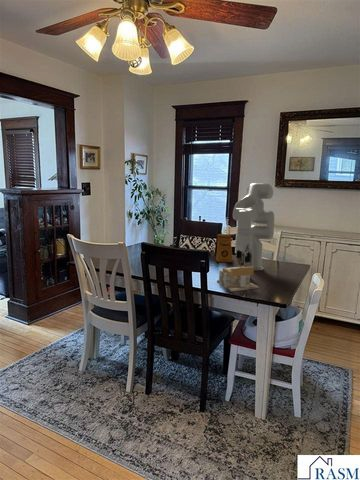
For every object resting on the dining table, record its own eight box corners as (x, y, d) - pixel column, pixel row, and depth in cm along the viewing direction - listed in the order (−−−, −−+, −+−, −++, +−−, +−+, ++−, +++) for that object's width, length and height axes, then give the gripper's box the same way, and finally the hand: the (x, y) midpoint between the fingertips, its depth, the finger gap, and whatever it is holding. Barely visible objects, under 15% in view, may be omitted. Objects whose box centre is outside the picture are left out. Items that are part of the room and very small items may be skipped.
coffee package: (232, 263, 254) (233, 235, 250) (215, 262, 255) (216, 234, 251) (231, 260, 263) (232, 233, 259) (216, 259, 265) (216, 232, 261)
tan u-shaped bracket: (222, 270, 204) (222, 263, 203) (242, 268, 208) (243, 262, 208) (232, 276, 192) (232, 269, 191) (253, 274, 197) (253, 267, 196)
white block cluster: (216, 281, 208) (217, 267, 206) (242, 279, 214) (242, 265, 212) (231, 291, 190) (231, 275, 188) (258, 288, 196) (259, 273, 194)
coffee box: (251, 277, 217) (252, 254, 214) (243, 278, 215) (244, 254, 212) (243, 274, 225) (244, 251, 223) (235, 275, 223) (236, 251, 220)
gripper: (231, 229, 197) (230, 257, 201) (246, 234, 182) (244, 264, 185) (242, 228, 200) (241, 255, 204) (257, 233, 184) (256, 263, 188)
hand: (242, 260), depth 194 cm, fingers open, 9 cm apart
